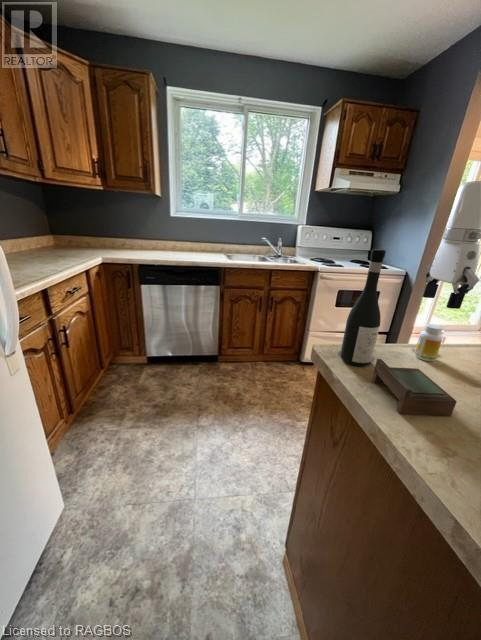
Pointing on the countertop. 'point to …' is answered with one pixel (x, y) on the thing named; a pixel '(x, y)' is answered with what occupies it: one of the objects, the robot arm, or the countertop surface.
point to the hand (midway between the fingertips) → (439, 302)
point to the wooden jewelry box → (414, 391)
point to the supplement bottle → (429, 343)
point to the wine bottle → (364, 318)
